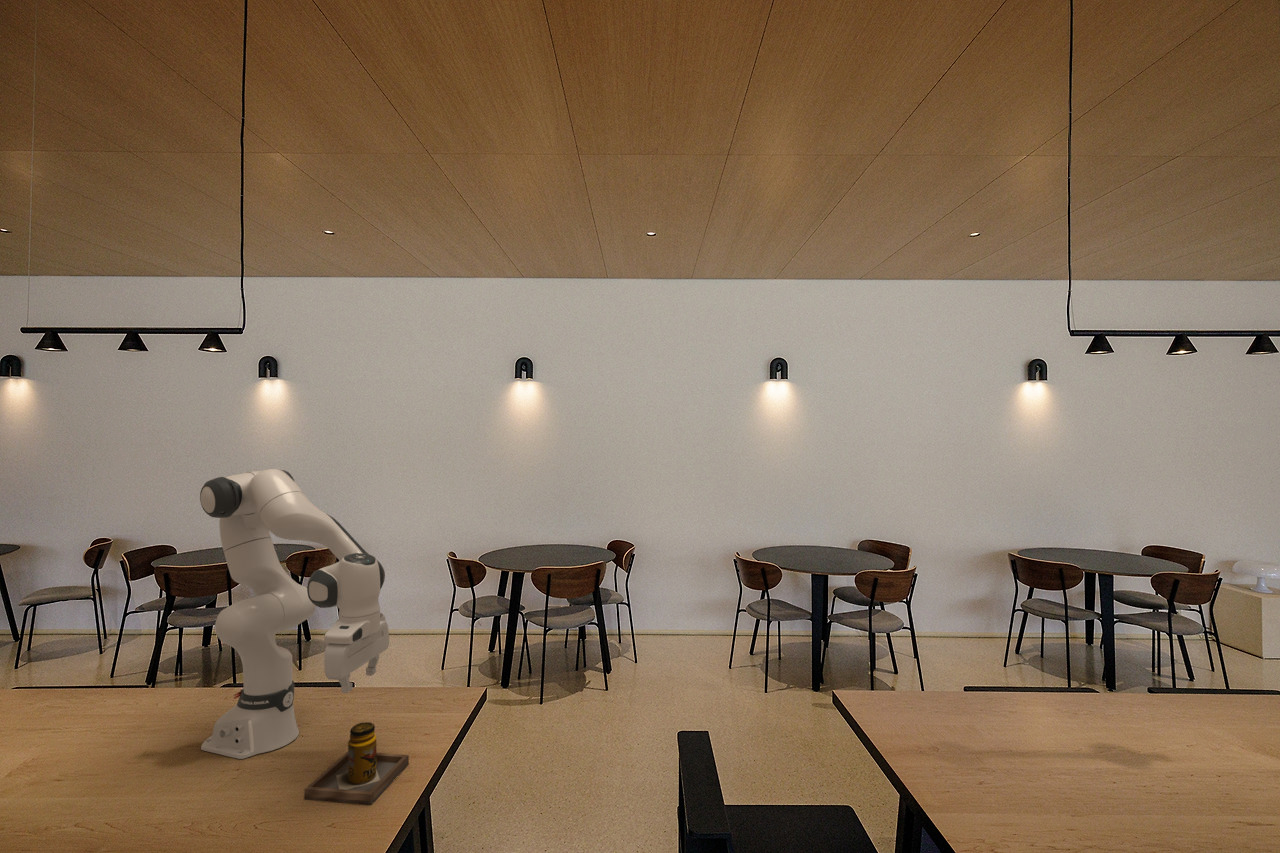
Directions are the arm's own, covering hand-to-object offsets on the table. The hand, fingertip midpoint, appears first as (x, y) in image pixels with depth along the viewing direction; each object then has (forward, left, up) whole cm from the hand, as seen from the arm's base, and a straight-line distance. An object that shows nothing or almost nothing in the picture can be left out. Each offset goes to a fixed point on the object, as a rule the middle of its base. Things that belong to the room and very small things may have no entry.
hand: (359, 682), depth 140 cm
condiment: (0, -1, -22) cm, 22 cm away
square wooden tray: (0, 0, -23) cm, 23 cm away
